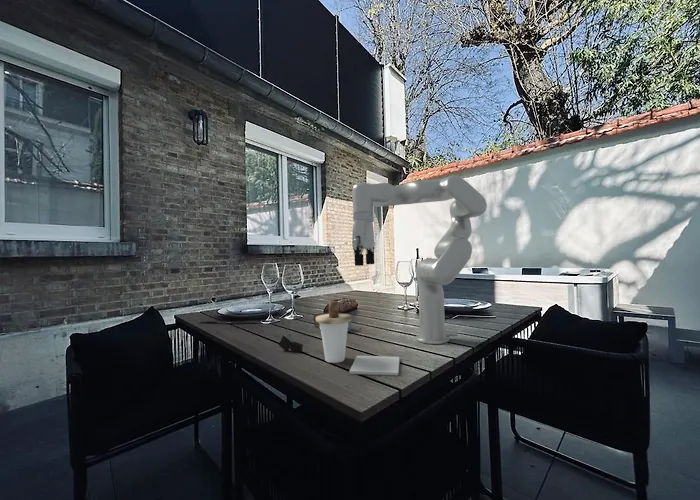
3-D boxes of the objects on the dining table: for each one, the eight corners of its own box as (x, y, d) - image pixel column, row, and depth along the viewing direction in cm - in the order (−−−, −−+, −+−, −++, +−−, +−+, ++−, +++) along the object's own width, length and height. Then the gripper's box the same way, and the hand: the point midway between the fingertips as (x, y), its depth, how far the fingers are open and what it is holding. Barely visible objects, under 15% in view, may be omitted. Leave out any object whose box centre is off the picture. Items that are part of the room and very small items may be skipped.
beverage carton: (338, 334, 144) (337, 319, 144) (313, 327, 158) (312, 313, 158) (351, 330, 149) (351, 316, 149) (326, 324, 163) (325, 311, 163)
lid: (354, 316, 115) (354, 298, 115) (348, 324, 103) (348, 304, 103) (320, 316, 117) (320, 299, 117) (311, 323, 105) (310, 304, 105)
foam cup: (350, 355, 114) (349, 317, 114) (347, 364, 104) (346, 323, 105) (323, 355, 115) (322, 317, 115) (317, 364, 105) (316, 323, 105)
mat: (399, 359, 108) (399, 356, 108) (398, 375, 94) (398, 372, 94) (356, 358, 110) (356, 355, 110) (349, 373, 97) (349, 370, 97)
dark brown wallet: (299, 357, 121) (306, 345, 120) (295, 359, 119) (303, 346, 117) (281, 342, 123) (288, 330, 122) (277, 344, 121) (284, 332, 120)
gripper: (364, 220, 131) (365, 263, 131) (343, 217, 116) (344, 266, 116) (381, 219, 128) (383, 263, 128) (362, 215, 112) (364, 266, 112)
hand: (364, 264), depth 122 cm, fingers open, 9 cm apart
